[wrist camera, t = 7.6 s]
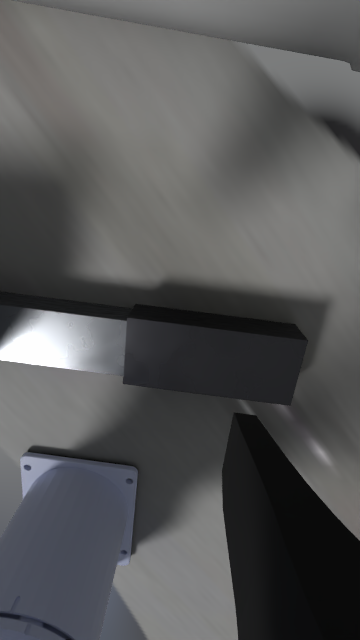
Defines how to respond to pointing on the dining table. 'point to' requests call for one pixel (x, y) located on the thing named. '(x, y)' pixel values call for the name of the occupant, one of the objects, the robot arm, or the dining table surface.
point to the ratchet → (156, 346)
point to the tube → (244, 21)
